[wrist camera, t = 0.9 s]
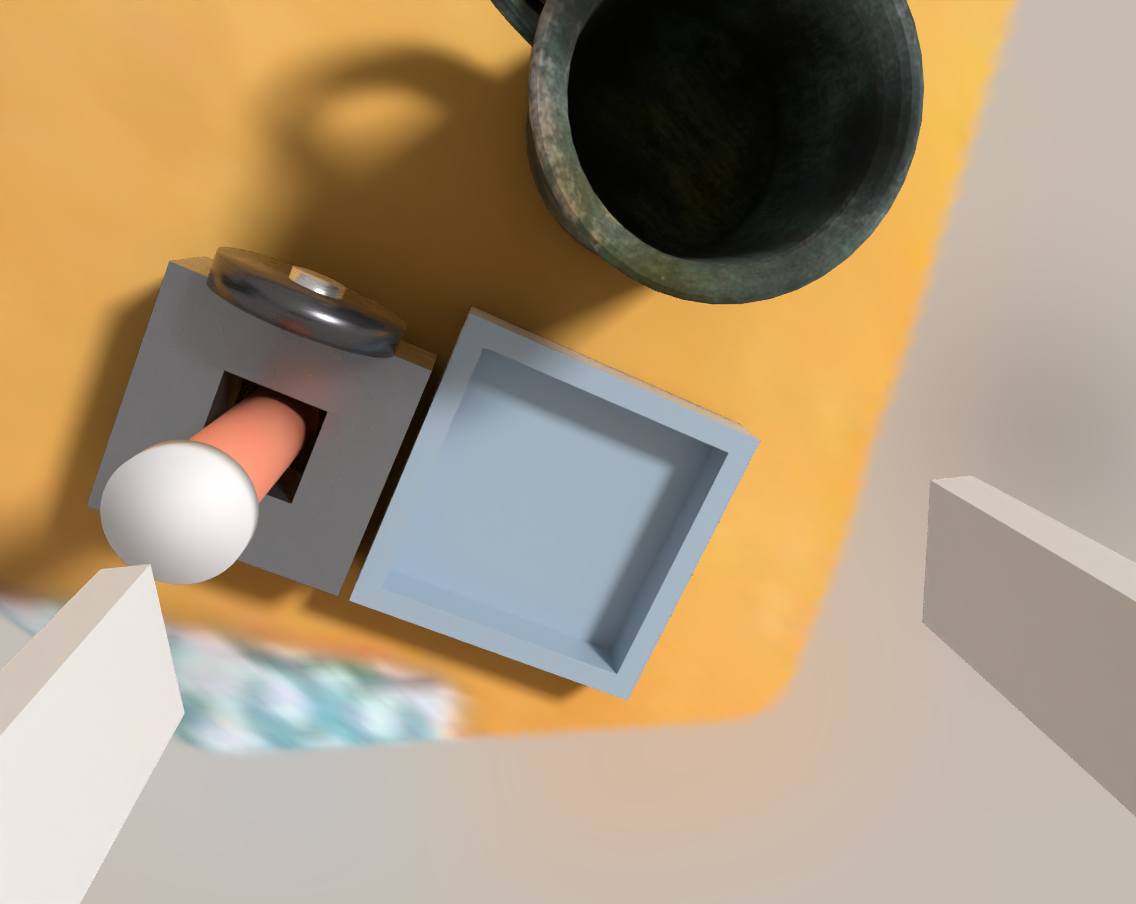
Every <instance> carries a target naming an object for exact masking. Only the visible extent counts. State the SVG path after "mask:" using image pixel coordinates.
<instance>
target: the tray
mask: <svg viewBox="0 0 1136 904" xmlns="http://www.w3.org/2000/svg"><path fill="white" fill-rule="evenodd" d="M760 441H761V440H759V439H758V438H757V437H755V436H754V435H753V434H752V433H750V432H749V431H748V430H747V429H745V428H744V427H743V426H742V425H740V424H739V423H736V422H734V421H732V420H729V419H727V418H725V417H723V416H720V415H718V414H716V413H714V412H711V411H709V410H707V409H704V408H702V407H700V406H698V405H695V404H693V403H691V402H689V401H686V400H684V399H682V398H679V397H677V396H675V395H673V394H670V393H668V392H666V391H664V390H661V389H659V388H657V387H654V386H652V385H650V384H648V383H645V382H643V381H641V380H639V379H636V378H634V377H632V376H629V375H627V374H625V373H623V372H620V371H618V370H616V369H614V368H611V367H609V366H607V365H604V364H602V363H600V362H598V361H595V360H593V359H591V358H589V357H586V356H584V355H582V354H579V353H577V352H575V351H573V350H570V349H568V348H566V347H564V346H561V345H559V344H557V343H554V342H552V341H550V340H548V339H545V338H543V337H541V336H539V335H536V334H534V333H532V332H529V331H527V330H525V329H523V328H520V327H518V326H516V325H514V324H511V323H509V322H507V321H505V320H502V319H500V318H498V317H495V316H493V315H491V314H489V313H486V312H484V311H482V310H480V309H477V308H475V307H473V306H471V307H470V310H469V312H468V315H467V317H466V319H465V322H464V324H463V326H462V329H461V331H460V334H459V336H458V338H457V341H456V343H455V346H454V348H453V350H452V353H451V355H450V357H449V360H448V362H447V365H446V367H445V369H444V372H443V374H442V377H441V379H440V381H439V384H438V386H437V388H436V391H435V393H434V396H433V398H432V400H431V403H430V405H429V407H428V410H427V412H426V415H425V417H424V419H423V422H422V424H421V427H420V429H419V431H418V434H417V436H416V438H415V441H414V443H413V446H412V448H411V450H410V453H409V455H408V458H407V460H406V462H405V465H404V467H403V469H402V472H401V474H400V477H399V479H398V481H397V484H396V486H395V489H394V491H393V493H392V496H391V498H390V500H389V503H388V505H387V508H386V510H385V512H384V515H383V517H382V519H381V522H380V524H379V527H378V529H377V531H376V534H375V536H374V539H373V541H372V543H371V546H370V548H369V550H368V553H367V555H366V558H365V560H364V562H363V565H362V567H361V570H360V572H359V575H358V577H357V580H356V583H355V586H354V588H353V591H352V594H351V597H350V600H349V601H352V602H355V603H357V604H360V605H363V606H366V607H369V608H371V609H374V610H377V611H380V612H382V613H385V614H388V615H391V616H394V617H396V618H399V619H402V620H405V621H408V622H410V623H413V624H416V625H419V626H421V627H424V628H427V629H430V630H433V631H435V632H438V633H441V634H444V635H447V636H449V637H452V638H455V639H458V640H461V641H463V642H466V643H469V644H472V645H474V646H477V647H480V648H483V649H486V650H488V651H491V652H494V653H497V654H500V655H502V656H505V657H508V658H511V659H513V660H516V661H519V662H522V663H525V664H527V665H530V666H533V667H536V668H539V669H541V670H544V671H547V672H550V673H553V674H555V675H558V676H561V677H564V678H566V679H569V680H572V681H575V682H578V683H580V684H583V685H586V686H589V687H592V688H594V689H597V690H600V691H603V692H605V693H608V694H611V695H614V696H617V697H619V698H622V699H625V700H628V699H629V697H630V695H631V693H632V691H633V689H634V687H635V685H636V683H637V681H638V679H639V677H640V675H641V673H642V671H643V669H644V667H645V665H646V664H647V662H648V660H649V658H650V656H651V654H652V652H653V650H654V648H655V646H656V644H657V642H658V640H659V638H660V636H661V634H662V632H663V630H664V628H665V626H666V624H667V622H668V621H669V619H670V617H671V615H672V613H673V611H674V609H675V607H676V605H677V603H678V601H679V599H680V597H681V595H682V593H683V591H684V589H685V587H686V585H687V583H688V581H689V579H690V578H691V576H692V574H693V572H694V570H695V568H696V566H697V564H698V562H699V560H700V558H701V556H702V554H703V552H704V550H705V548H706V546H707V544H708V542H709V540H710V538H711V536H712V535H713V533H714V531H715V529H716V527H717V525H718V523H719V521H720V519H721V517H722V515H723V513H724V511H725V509H726V507H727V505H728V503H729V501H730V499H731V497H732V495H733V493H734V492H735V490H736V488H737V486H738V484H739V482H740V480H741V478H742V476H743V474H744V472H745V470H746V468H747V466H748V464H749V462H750V460H751V458H752V456H753V454H754V452H755V450H756V448H757V447H758V445H759V443H760Z"/></svg>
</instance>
